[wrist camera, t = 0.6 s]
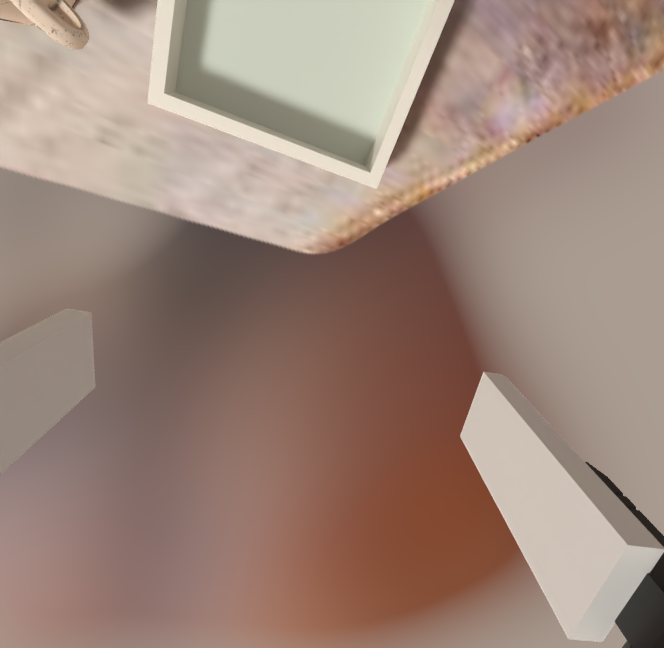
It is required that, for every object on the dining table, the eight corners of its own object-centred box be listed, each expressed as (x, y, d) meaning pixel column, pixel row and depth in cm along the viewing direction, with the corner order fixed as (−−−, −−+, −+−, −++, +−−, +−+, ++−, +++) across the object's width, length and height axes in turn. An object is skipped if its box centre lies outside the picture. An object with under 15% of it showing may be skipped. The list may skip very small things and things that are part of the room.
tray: (204, -247, 21) (187, -307, 18) (471, -81, 26) (498, -105, 23) (163, 100, 30) (147, 103, 27) (368, 178, 35) (376, 189, 31)
